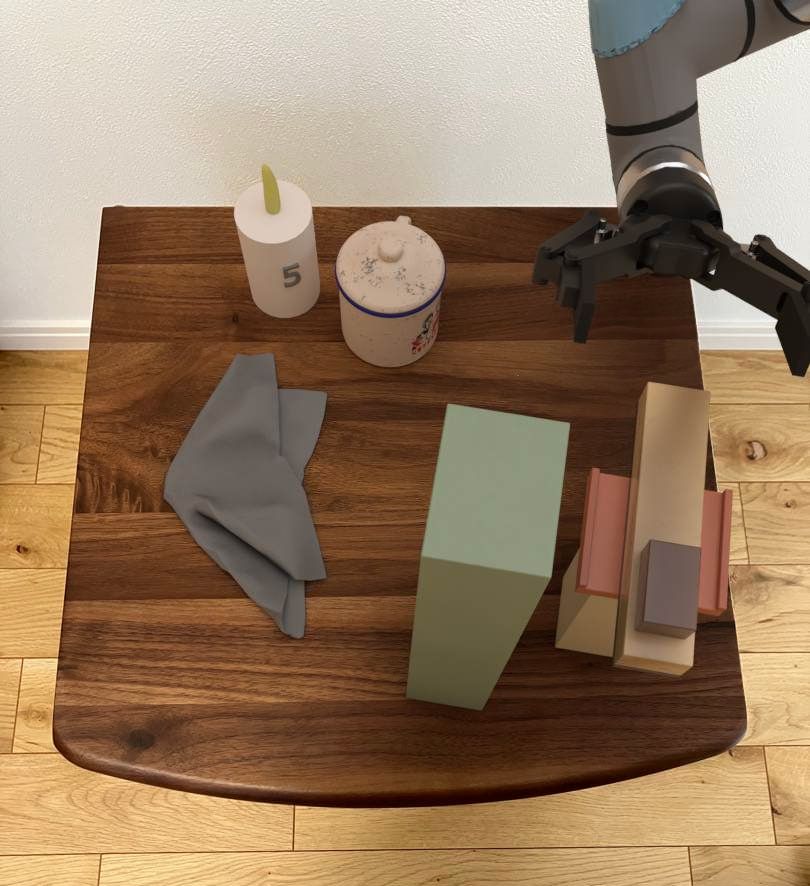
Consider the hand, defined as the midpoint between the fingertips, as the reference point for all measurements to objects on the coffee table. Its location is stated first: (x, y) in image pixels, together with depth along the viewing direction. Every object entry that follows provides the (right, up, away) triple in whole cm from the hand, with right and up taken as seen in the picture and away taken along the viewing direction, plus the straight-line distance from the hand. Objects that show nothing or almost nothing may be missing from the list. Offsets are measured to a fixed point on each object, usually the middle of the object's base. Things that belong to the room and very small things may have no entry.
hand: (694, 340), depth 59 cm
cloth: (-31, -8, +22) cm, 39 cm away
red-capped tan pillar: (-2, -18, +18) cm, 26 cm away
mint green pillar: (-14, -21, +17) cm, 31 cm away
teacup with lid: (-19, +8, +28) cm, 35 cm away
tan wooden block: (-2, -12, +2) cm, 12 cm away
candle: (-29, +11, +29) cm, 42 cm away
